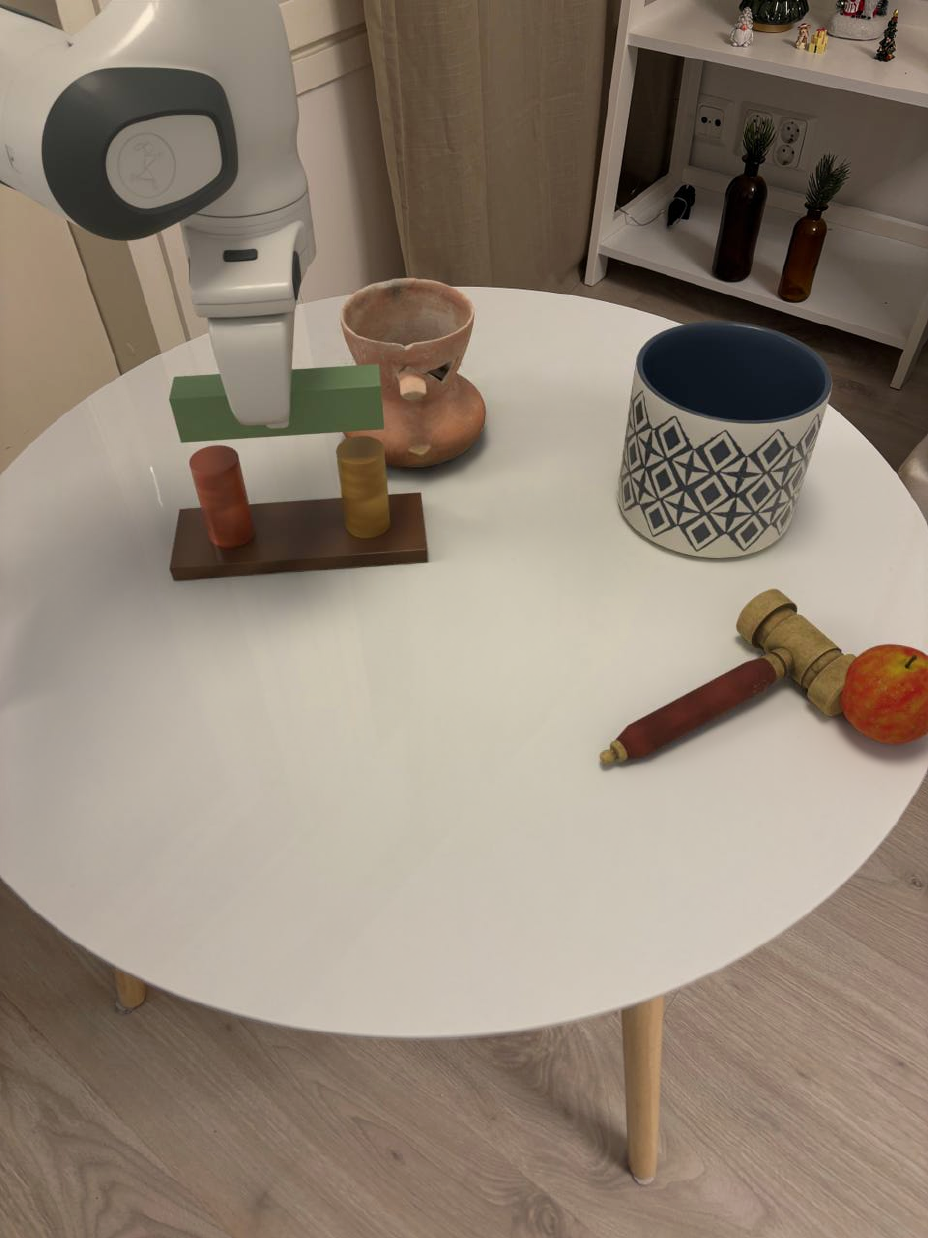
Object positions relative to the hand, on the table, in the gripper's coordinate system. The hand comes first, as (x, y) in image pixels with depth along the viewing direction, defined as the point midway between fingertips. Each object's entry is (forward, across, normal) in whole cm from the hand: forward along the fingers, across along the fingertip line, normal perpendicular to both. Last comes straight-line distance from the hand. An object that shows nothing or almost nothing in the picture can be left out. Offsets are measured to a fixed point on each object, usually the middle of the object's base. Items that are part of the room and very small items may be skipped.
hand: (279, 406), depth 74 cm
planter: (+14, -1, +37) cm, 40 cm away
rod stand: (+14, 0, 0) cm, 14 cm away
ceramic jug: (+14, -15, +11) cm, 23 cm away
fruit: (+14, +25, +43) cm, 52 cm away
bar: (+2, 0, 0) cm, 2 cm away
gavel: (+14, +23, +31) cm, 41 cm away
